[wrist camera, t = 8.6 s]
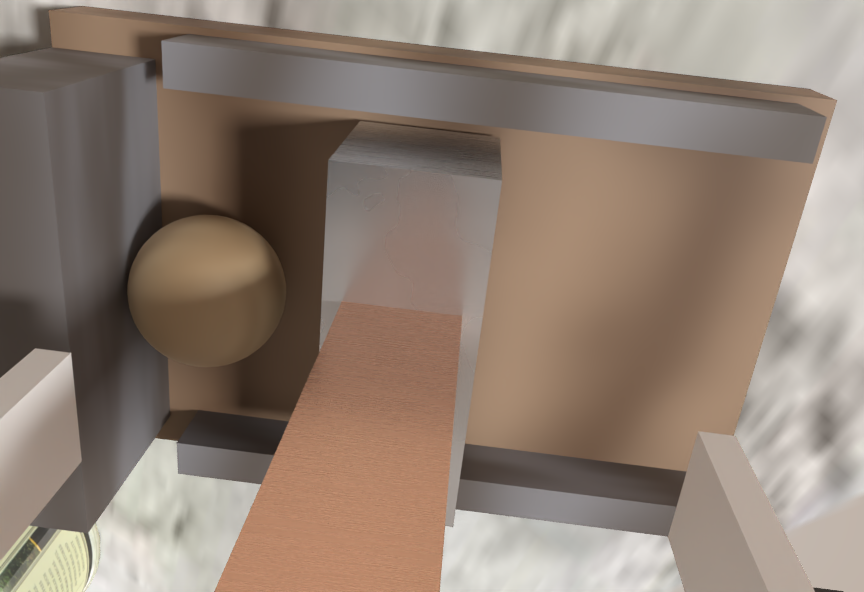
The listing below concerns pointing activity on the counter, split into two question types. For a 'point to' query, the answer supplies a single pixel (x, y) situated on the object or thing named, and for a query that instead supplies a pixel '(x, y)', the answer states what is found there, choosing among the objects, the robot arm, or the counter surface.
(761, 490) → the robot arm
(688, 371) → the base
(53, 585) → the coffee can
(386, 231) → the sliding jaw
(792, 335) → the counter surface
